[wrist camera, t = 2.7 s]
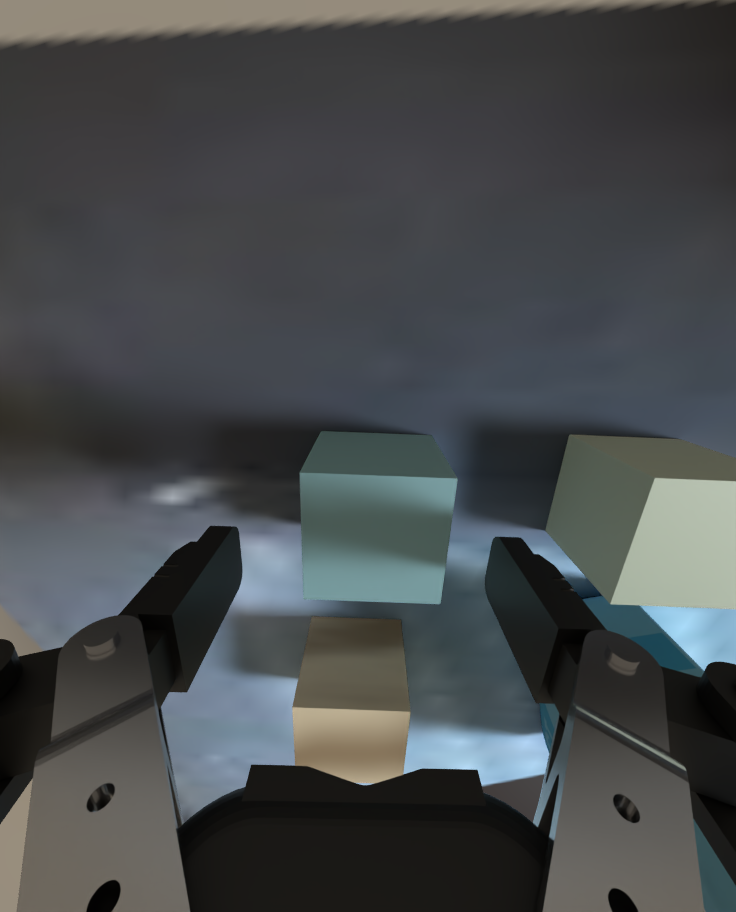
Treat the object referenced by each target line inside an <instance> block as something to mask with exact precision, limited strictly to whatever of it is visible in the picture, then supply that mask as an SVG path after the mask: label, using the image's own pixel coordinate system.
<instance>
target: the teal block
mask: <svg viewBox="0 0 736 912" xmlns="http://www.w3.org/2000/svg"><path fill="white" fill-rule="evenodd" d="M457 480H458V478H457V477H456V475H455V473H454V472H453V470H452V468H451V467H450V465H449V463H448V462H447V460H446V458H445V457H444V455H443V453H442V452H441V450H440V448H439V447H438V445H437V444H436V442H435V440H434V439H433V437H432V435H411V434H385V433H360V432H334V431H321V432H320V434H319V436H318V438H317V440H316V442H315V444H314V446H313V448H312V449H311V451H310V453H309V455H308V457H307V459H306V461H305V463H304V465H303V467H302V469H301V471H300V503H301V534H302V564H303V595H304V599H310V600H338V601H366V602H393V603H421V604H440V603H441V596H442V589H443V582H444V574H445V567H446V560H447V552H448V545H449V538H450V531H451V523H452V516H453V509H454V502H455V494H456V487H457Z"/></svg>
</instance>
